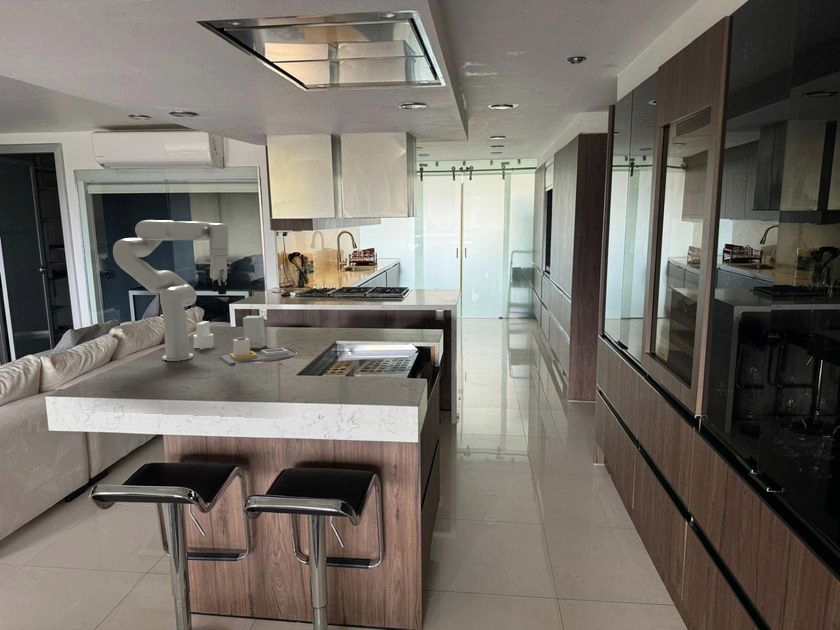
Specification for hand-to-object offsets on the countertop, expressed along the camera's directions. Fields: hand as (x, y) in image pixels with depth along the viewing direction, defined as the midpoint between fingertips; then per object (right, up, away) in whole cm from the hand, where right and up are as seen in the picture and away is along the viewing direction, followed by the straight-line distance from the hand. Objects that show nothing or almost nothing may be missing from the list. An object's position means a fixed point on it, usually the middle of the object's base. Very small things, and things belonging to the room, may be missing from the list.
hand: (219, 292), depth 245 cm
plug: (+8, -28, +6) cm, 30 cm away
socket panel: (+14, -28, +10) cm, 33 cm away
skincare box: (+7, -26, +29) cm, 39 cm away
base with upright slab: (-19, -25, +32) cm, 45 cm away
